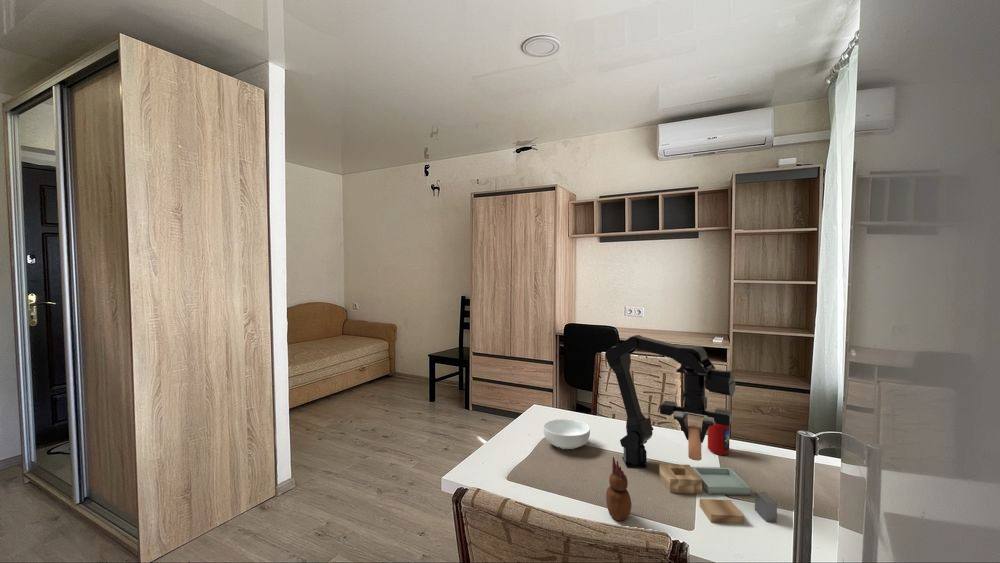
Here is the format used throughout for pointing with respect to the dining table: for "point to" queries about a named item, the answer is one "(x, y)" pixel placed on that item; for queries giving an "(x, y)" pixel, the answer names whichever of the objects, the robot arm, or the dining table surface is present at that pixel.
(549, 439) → the cereal bowl
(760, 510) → the grey rectangular block
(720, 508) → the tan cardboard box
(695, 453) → the dowel
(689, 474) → the socket block
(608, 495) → the wooden figurine
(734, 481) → the tray
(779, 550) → the dining table surface
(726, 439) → the beverage can
